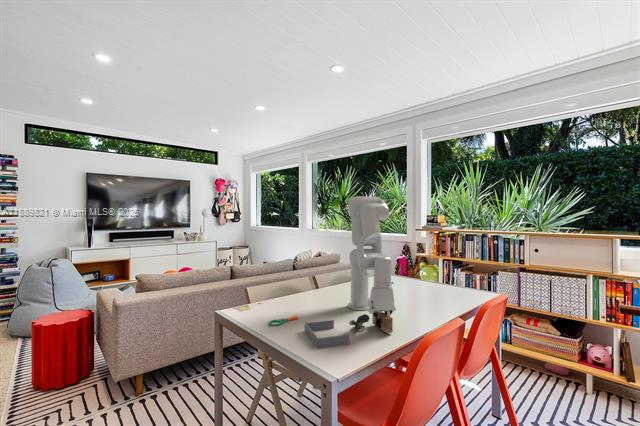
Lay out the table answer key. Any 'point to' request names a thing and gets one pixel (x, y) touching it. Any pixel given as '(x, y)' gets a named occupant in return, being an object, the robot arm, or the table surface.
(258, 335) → the table surface
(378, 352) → the table surface
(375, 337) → the table surface
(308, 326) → the grey bent bar
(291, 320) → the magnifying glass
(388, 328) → the brown rectangular block
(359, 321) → the eagle figurine
